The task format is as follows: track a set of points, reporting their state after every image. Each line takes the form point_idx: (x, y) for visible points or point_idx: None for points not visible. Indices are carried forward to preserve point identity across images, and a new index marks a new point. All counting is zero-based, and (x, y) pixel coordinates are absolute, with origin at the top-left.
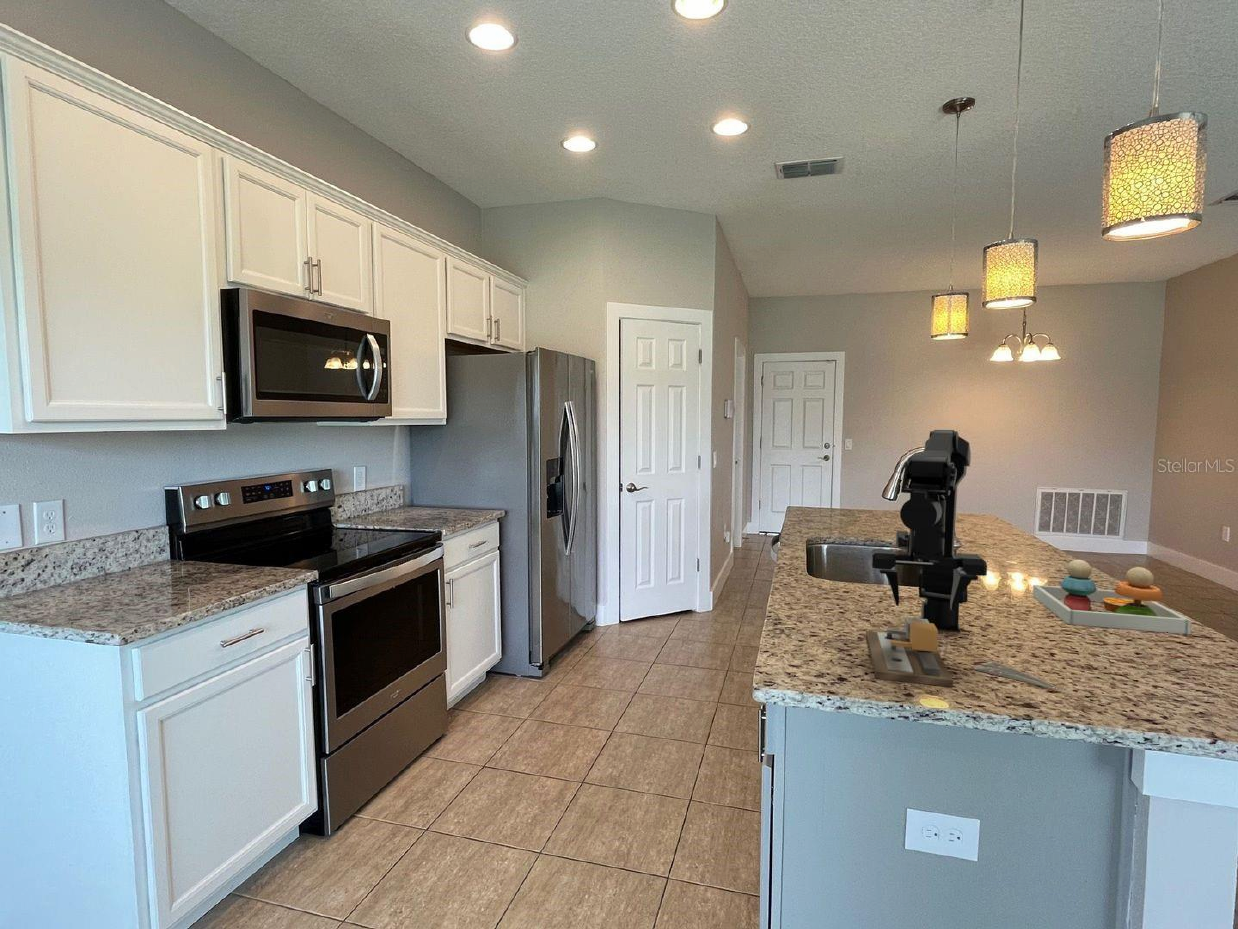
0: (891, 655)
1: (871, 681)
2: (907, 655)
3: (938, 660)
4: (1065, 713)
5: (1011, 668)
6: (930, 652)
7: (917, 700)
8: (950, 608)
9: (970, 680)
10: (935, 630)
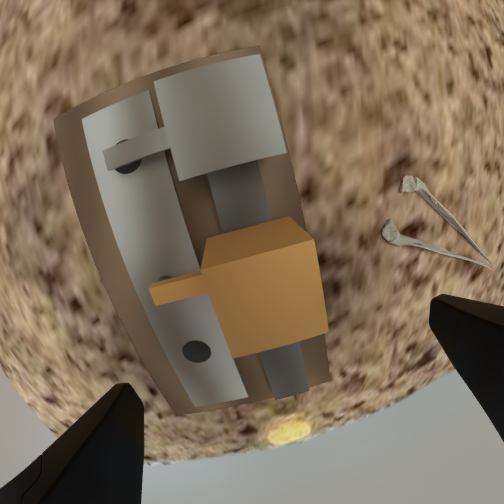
0: (174, 328)
1: (176, 416)
2: None
3: None
4: None
5: (452, 218)
6: None
7: (264, 438)
8: (432, 302)
9: (364, 313)
10: (319, 334)
